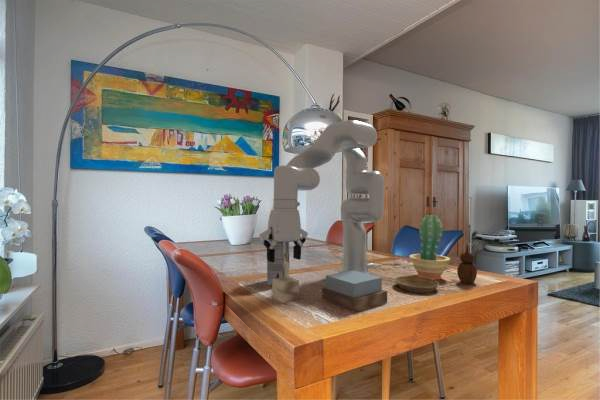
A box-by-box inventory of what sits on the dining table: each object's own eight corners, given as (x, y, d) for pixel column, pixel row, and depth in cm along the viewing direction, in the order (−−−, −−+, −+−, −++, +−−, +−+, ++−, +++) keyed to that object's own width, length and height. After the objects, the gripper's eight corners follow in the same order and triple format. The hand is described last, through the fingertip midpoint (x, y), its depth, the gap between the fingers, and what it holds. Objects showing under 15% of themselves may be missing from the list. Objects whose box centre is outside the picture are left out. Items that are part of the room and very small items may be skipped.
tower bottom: (353, 292, 104) (353, 281, 104) (387, 304, 93) (387, 291, 93) (321, 300, 96) (321, 288, 96) (354, 314, 85) (354, 300, 85)
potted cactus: (459, 278, 121) (459, 215, 121) (433, 284, 114) (433, 216, 113) (425, 270, 135) (425, 213, 134) (400, 274, 127) (401, 214, 127)
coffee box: (273, 278, 120) (273, 237, 120) (289, 279, 119) (289, 238, 119) (266, 285, 111) (266, 240, 111) (283, 286, 110) (283, 241, 110)
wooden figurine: (470, 285, 112) (471, 244, 111) (454, 282, 116) (455, 242, 116) (479, 282, 116) (479, 242, 115) (463, 279, 120) (463, 241, 120)
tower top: (352, 282, 103) (352, 270, 103) (381, 290, 94) (381, 277, 94) (325, 288, 96) (325, 275, 96) (354, 298, 86) (354, 283, 86)
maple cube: (288, 294, 101) (288, 276, 101) (298, 299, 96) (298, 280, 96) (272, 297, 97) (272, 279, 97) (282, 303, 92) (282, 283, 92)
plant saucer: (399, 280, 119) (399, 274, 119) (441, 286, 111) (441, 279, 111) (389, 290, 106) (389, 283, 106) (436, 297, 99) (436, 289, 99)
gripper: (300, 205, 105) (299, 256, 104) (255, 204, 94) (253, 260, 94) (314, 206, 98) (313, 259, 98) (267, 205, 88) (266, 265, 88)
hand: (284, 260), depth 96 cm, fingers open, 9 cm apart
